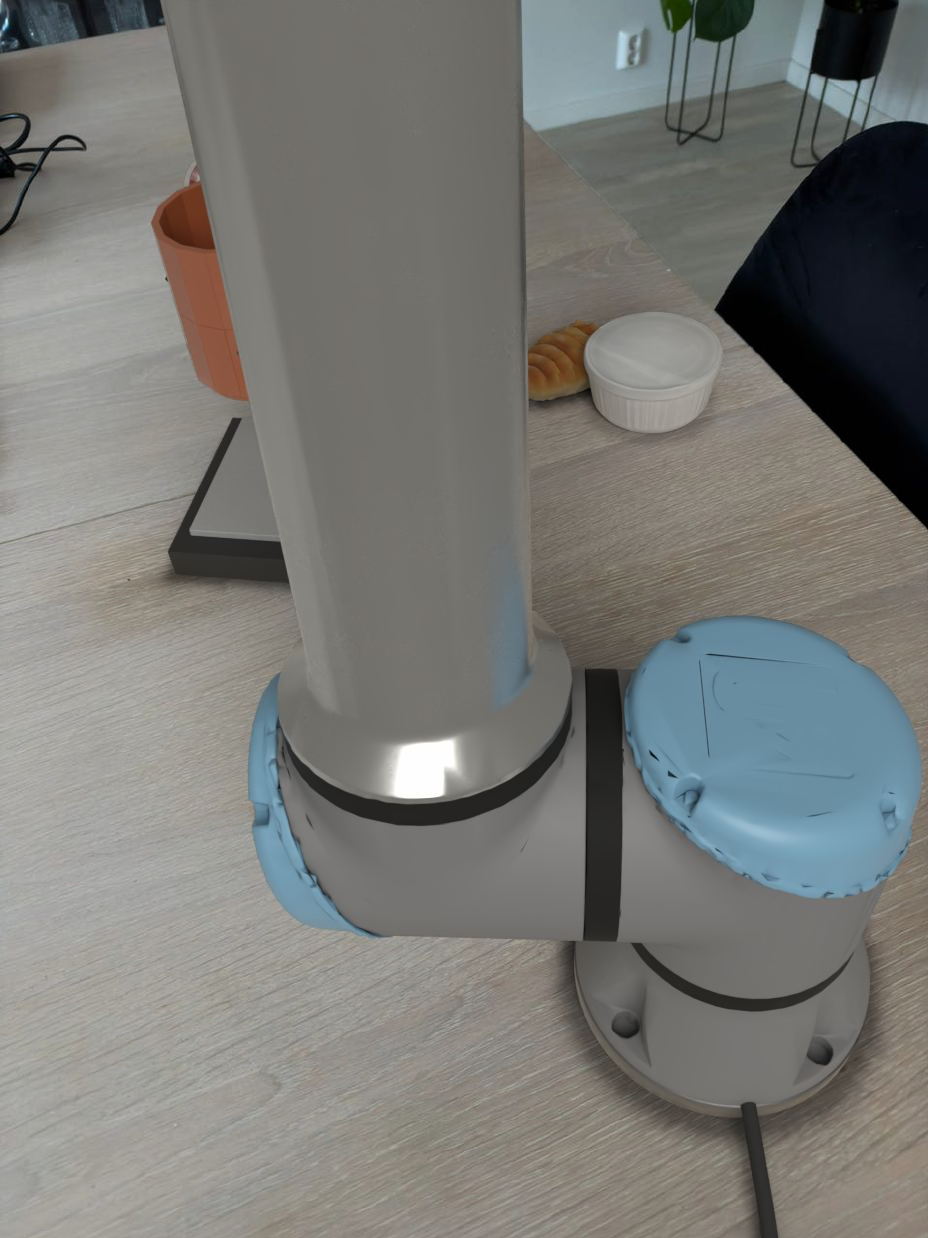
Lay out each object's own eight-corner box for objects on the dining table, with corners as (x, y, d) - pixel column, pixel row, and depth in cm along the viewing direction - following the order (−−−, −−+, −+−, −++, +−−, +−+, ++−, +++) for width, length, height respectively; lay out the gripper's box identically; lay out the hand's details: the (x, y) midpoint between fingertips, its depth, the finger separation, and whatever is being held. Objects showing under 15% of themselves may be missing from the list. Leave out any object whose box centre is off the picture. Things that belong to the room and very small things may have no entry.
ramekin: (578, 440, 90) (579, 387, 86) (587, 361, 97) (588, 308, 93) (717, 446, 88) (724, 392, 84) (715, 365, 95) (722, 312, 92)
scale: (383, 590, 80) (378, 561, 77) (175, 574, 82) (165, 545, 80) (423, 450, 90) (420, 421, 88) (238, 439, 93) (230, 411, 90)
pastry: (541, 418, 92) (540, 381, 89) (491, 382, 95) (489, 346, 93) (623, 374, 95) (625, 336, 92) (572, 341, 99) (572, 304, 96)
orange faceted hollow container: (254, 425, 71) (215, 271, 63) (167, 364, 76) (120, 215, 68) (373, 355, 75) (351, 203, 67) (283, 302, 80) (252, 156, 72)
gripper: (546, 96, 61) (345, 426, 68) (344, -10, 75) (192, 275, 81) (462, 19, 56) (251, 388, 62) (260, -80, 69) (103, 232, 75)
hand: (218, 324), depth 72 cm, fingers closed on orange faceted hollow container, 10 cm apart
